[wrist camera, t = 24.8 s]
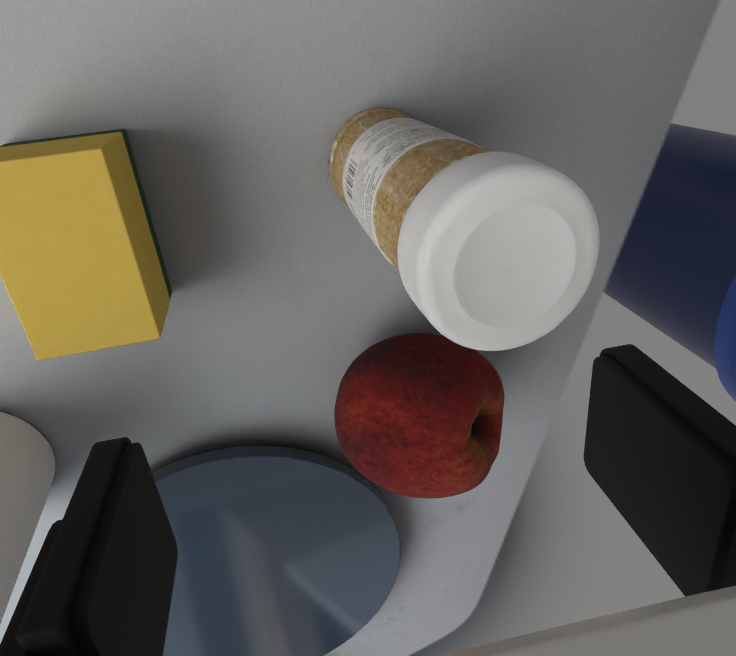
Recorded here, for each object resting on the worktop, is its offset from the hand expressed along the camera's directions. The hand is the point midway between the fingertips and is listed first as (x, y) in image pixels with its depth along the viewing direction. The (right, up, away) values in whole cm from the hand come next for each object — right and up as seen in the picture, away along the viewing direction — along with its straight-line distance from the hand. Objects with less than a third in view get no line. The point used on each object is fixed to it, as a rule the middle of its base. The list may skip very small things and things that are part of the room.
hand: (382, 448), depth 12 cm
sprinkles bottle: (0, +10, +13) cm, 16 cm away
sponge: (-12, +7, +12) cm, 18 cm away
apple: (+1, 0, +18) cm, 18 cm away
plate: (-7, -11, +22) cm, 26 cm away
